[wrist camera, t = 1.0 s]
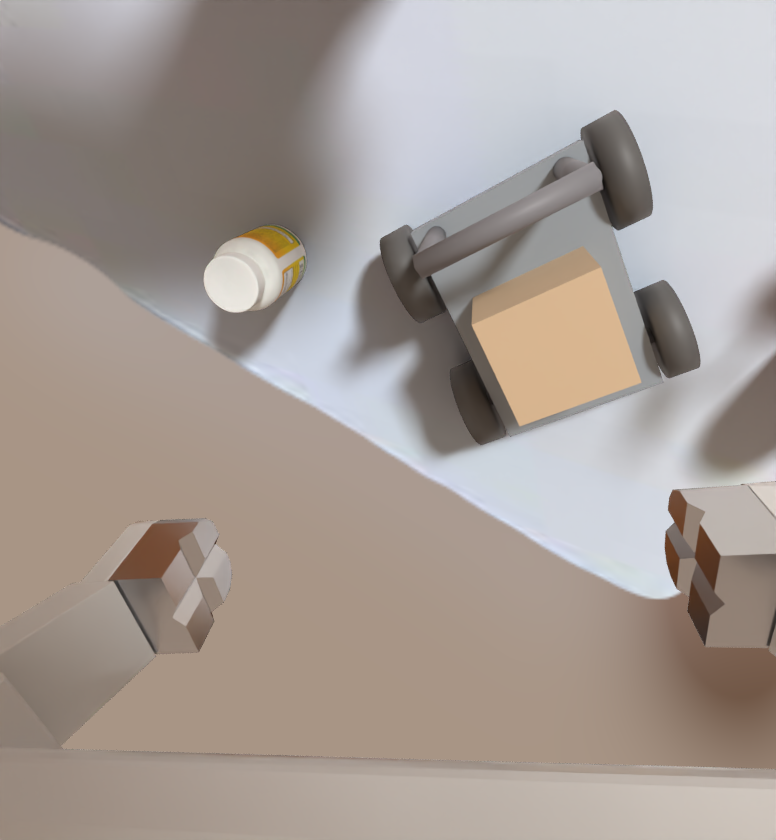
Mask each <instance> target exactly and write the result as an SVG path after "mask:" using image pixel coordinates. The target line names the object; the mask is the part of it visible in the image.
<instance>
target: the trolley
mask: <svg viewBox="0 0 776 840" xmlns="http://www.w3.org/2000/svg"><path fill="white" fill-rule="evenodd" d="M652 210H653V200H652V192H651V187H650V182H649V178H648V174H647V170H646V167H645V164H644V161H643V158H642V155H641V152H640V149H639V147H638V144H637V142H636V139H635V137H634V135H633V133H632V131H631V129H630V127H629V125H628V124H627V122H626V120H625V119H624V117H623V116H622V115H621V114H620V113H619V112H618V111H617V110H614V111H612V112H610V113H608V114H606V115H605V116H603V117H601V118H599V119H597V120H596V121H594V122H592V123H590V124H588V125H586V126H585V127H583V128H582V129H581V140H578V141H576V142H574V143H572V144H571V145H569V146H567V147H565V148H563V149H561V150H560V151H558V152H556V153H554V154H552V155H550V156H548V157H547V158H545V159H543V160H541V161H539V162H537V163H536V164H534V165H532V166H530V167H528V168H526V169H524V170H523V171H521V172H519V173H517V174H515V175H513V176H512V177H510V178H508V179H506V180H504V181H502V182H501V183H499V184H497V185H495V186H493V187H491V188H489V189H488V190H486V191H484V192H482V193H480V194H478V195H477V196H475V197H473V198H471V199H469V200H467V201H465V202H464V203H462V204H460V205H458V206H456V207H454V208H453V209H451V210H449V211H447V212H445V213H443V214H441V215H440V216H438V217H436V218H434V219H432V220H430V221H429V222H427V223H425V224H423V225H421V226H419V227H417V228H416V229H414V230H412V228H411V227H409V226H408V225H404V226H403V227H401V228H399V229H397V230H395V231H393V232H392V233H390V234H388V235H386V236H384V237H382V238H381V240H380V250H381V255H382V259H383V262H384V265H385V268H386V271H387V273H388V276H389V278H390V281H391V283H392V285H393V287H394V289H395V291H396V293H397V295H398V297H399V299H400V300H401V302H402V304H403V305H404V307H405V308H406V310H407V311H408V313H409V314H410V315H411V316H412V317H413V318H414V319H415V320H416V321H417V322H419V323H422V322H424V321H426V320H428V319H430V318H432V317H434V316H437V315H439V314H441V313H443V312H445V311H446V307H447V309H448V311H449V313H450V315H451V317H452V319H453V321H454V323H455V325H456V327H457V329H458V332H459V334H460V336H461V338H462V340H463V342H464V344H465V346H466V348H467V350H468V352H469V354H470V356H471V358H472V361H469V362H467V363H464V364H462V365H460V366H457V367H455V368H453V369H451V371H450V380H451V386H452V390H453V394H454V397H455V400H456V403H457V406H458V409H459V411H460V414H461V416H462V418H463V420H464V423H465V425H466V427H467V428H468V430H469V432H470V434H471V435H472V437H473V438H474V439H475V441H476V442H477V443H478V444H480V445H483V444H486V443H489V442H492V441H494V440H497V439H500V438H503V437H505V435H506V430H507V432H508V434H509V436H510V437H511V436H514V435H517V434H520V433H522V432H525V431H528V430H531V429H534V428H536V427H539V426H542V425H545V424H548V423H551V422H553V421H556V420H559V419H562V418H565V417H567V416H570V415H573V414H576V413H579V412H582V411H584V410H587V409H590V408H593V407H596V406H599V405H601V404H604V403H607V402H610V401H613V400H615V399H618V398H621V397H624V396H627V395H630V394H632V393H635V392H638V391H641V390H644V389H646V388H649V387H652V386H655V385H658V384H661V383H663V379H662V376H661V373H660V370H659V367H660V369H661V370H662V372H663V373H664V375H665V376H666V377H667V378H671V377H674V376H677V375H680V374H683V373H686V372H688V371H691V370H694V369H697V368H699V367H700V354H699V349H698V345H697V341H696V338H695V335H694V332H693V329H692V327H691V324H690V321H689V319H688V317H687V314H686V312H685V310H684V308H683V306H682V304H681V302H680V300H679V298H678V297H677V295H676V293H675V292H674V290H673V289H672V287H671V286H670V285H669V284H668V283H667V282H666V281H665V280H661V281H659V282H657V283H654V284H652V285H649V286H647V287H645V288H642V289H640V290H638V291H635V292H633V289H632V286H631V283H630V280H629V277H628V274H627V271H626V268H625V265H624V262H623V259H622V256H621V253H620V250H619V247H618V244H617V241H616V238H615V235H614V232H613V229H612V226H611V224H612V225H613V227H614V228H615V229H616V230H621V229H623V228H625V227H627V226H629V225H631V224H634V223H636V222H638V221H640V220H642V219H644V218H646V217H649V216H650V215H651V214H652ZM610 222H611V223H610ZM658 365H659V367H658ZM505 428H506V430H505Z"/></svg>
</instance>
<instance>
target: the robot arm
mask: <svg viewBox="0 0 776 840" xmlns="http://www.w3.org/2000/svg"><path fill="white" fill-rule="evenodd" d="M668 511H669V513H670V515H671V516H672V518H673V520H674V523H673V524H672V525H671V526H670V527H669V528H668V529H667V530H666V534H665V554H666V561H667V566H668V569H669V572H670V575H671V578H672V580H673V582H674V584H675V586H676V589H678V590H679V591H681V592H682V593H684V594H685V595H687V596H688V597H689V602H688V610H687V611H688V613H689V615H690V617H691V619H692V621H693V623H694V626H695V628H696V629H697V632H698V633H699V636H700V638H701V640H702V641H703V644H704V646H705V647H741V648H744V647H745V648H769V651H770V652H771V653H772V654H773V655H775V656H776V481H771V482H760V483H748V484H741V485H736V486H721V487H706V488H691V489H675V490H672V493H671V495H670V497H669V505H668ZM218 537H219V533H218V531H217V529H216V527H215V525H214V523H213V521H211V520H208V519H206V518H202V519H176V520H160V521H139V522H135V523H133V524H130V525H129V526H128V527H127V528H126V529H125V531H124V532H123V533H122V534H121V535H120V536H119V537H118V539H117V540H116V541H115V542H114V543H113V544H112V546H111V547H110V548H109V549H108V550H107V551H106V553H105V554H104V555H103V556H102V557H101V559H100V560H99V561H98V562H97V563H96V565H95V566H94V567H93V568H92V569H91V570H90V572H89V573H88V574H87V575H86V576H85V577H84V578H83V580H82V581H81V582H80V583H72V584H70V585H68V586H67V587H65V588H63V589H62V590H60V591H58V592H57V593H55V594H53V595H52V596H50V597H48V598H47V599H45V600H44V601H42V602H40V603H38V604H37V605H35V606H33V607H32V608H30V609H29V610H27V611H25V612H23V613H22V614H20V615H18V616H17V617H15V618H13V619H12V620H10V621H8V622H7V623H5V624H3V625H2V626H0V840H776V769H752V768H751V769H750V768H717V767H682V766H644V765H607V764H571V763H569V764H568V763H533V762H496V761H495V762H494V761H459V760H423V759H422V760H421V759H388V758H356V757H322V756H321V757H320V756H288V755H254V754H253V755H252V754H220V753H184V752H149V751H114V750H80V749H63V748H62V747H61V745H62V744H63V743H65V742H66V741H67V740H68V739H69V738H70V737H71V736H72V735H73V734H74V733H75V732H76V731H77V730H78V729H80V728H81V727H82V726H83V725H84V724H85V723H86V722H87V721H88V720H89V719H90V718H91V717H92V716H93V715H94V714H95V713H97V712H98V711H99V710H100V709H101V708H102V707H103V706H104V705H105V704H106V703H107V702H108V701H109V700H110V699H111V698H112V697H114V696H115V695H116V694H117V693H118V692H119V691H120V690H121V689H122V688H123V687H124V686H125V685H126V684H127V683H128V682H129V681H130V680H132V678H133V677H135V676H136V675H137V674H138V673H139V672H140V671H141V670H142V669H143V668H144V667H145V666H146V665H148V664H149V662H151V661H152V660H153V659H154V658H155V657H156V655H155V654H169V653H193V652H199V651H200V649H201V647H202V645H203V643H204V641H205V639H206V637H207V635H208V633H209V631H210V629H211V627H212V625H213V623H214V619H213V615H212V611H213V610H214V609H216V608H217V607H218V606H220V605H221V604H222V603H223V602H224V601H225V599H226V597H227V595H228V592H229V590H230V585H231V579H232V570H231V563H230V560H229V557H228V555H227V553H226V552H225V551H224V550H223V549H221V548H220V547H219V546H218V545H216V542H217V539H218Z"/></svg>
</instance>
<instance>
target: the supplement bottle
mask: <svg viewBox="0 0 776 840" xmlns="http://www.w3.org/2000/svg"><path fill="white" fill-rule="evenodd" d="M306 266H307V257H306V252H305V249H304V246H303V244H302V243H301V241H300V239H299V238H298V237H297V236H296V235H295V234H294V233H293V232H291V231H290V230H288V229H286V228H285V227H282V226H279V225H273V224H272V225H264V226H261V227H259V228H256V229H254V230H252V231H249V232H247V233H245V234H243V235H240V236H238V237H236V238H233V239H231V240H229V241H227V242H225V243H224V244H223V245H222V246H221V247H220V248H219V249H218V250H217V252H216V253H215V255H214V258H213V260H212V261H211V262H210V263H209V264H208V265H207V267H206V269H205V272H204V286H205V290H206V292H207V294H208V296H209V298H210V299H211V300H212V301H213V302H214V303H215V304H216V305H217V306H218V307H220V308H221V309H223V310H225V311H228V312H232V313H241V312H244V311H257V310H262V309H264V308H266V307H268V306H270V305H271V304H273V303H274V302H275V301H276V300H278V299H279V298H280V297H281V296H282V295H284V294H285V293H286V292H287V291H289V290H290V289H291V288H292V287H294V286H295V285H296V284H297V283H298V282H299V281H300V280H301V278H302V277H303V275H304V273H305V270H306Z"/></svg>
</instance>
